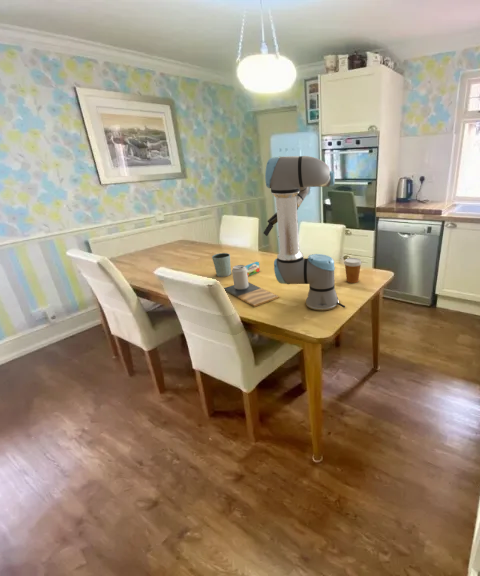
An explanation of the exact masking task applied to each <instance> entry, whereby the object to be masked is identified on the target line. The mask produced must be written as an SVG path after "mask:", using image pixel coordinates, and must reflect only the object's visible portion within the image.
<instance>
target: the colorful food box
mask: <svg viewBox="0 0 480 576" xmlns="http://www.w3.org/2000/svg"><path fill="white" fill-rule="evenodd" d="M244 266H245V268H247V276H248V277H250V276H252V275H255V274H257V273H260V272H261V269H260V268H261V267H260V261H255V262H252V263H248V264H247V265H244Z"/></svg>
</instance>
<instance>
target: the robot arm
mask: <svg viewBox="0 0 480 576" xmlns="http://www.w3.org/2000/svg"><path fill="white" fill-rule="evenodd" d="M264 176H265V177H264V181H265V185H266V188H267V189H270V193H271V194H272V195H273V196H274V197H275V206H276V207H275V208H276V212H274V214H273V215H272V216H271V217H270V218H269V219H268V220H267V223H268V224H267V226H266V227H265V229H264V230H263V232H262V233H263V235H265V236H266V237H268V235H269V234H270V233H271V231H272V229H273V228H274V226H275V225H276V224H277V231H278V241H279V253H278V254H277V256H276V258H275V259H274V261H273V270H274V277H275V279H276V281H277V282H278V283H279V284H282V285H308V286H309V288H308V289H309V290H308V293H307V297H306V300H305V304H306V307H307V308H308V309H310V310H313V311H318V312H326V311H332V310H334V309H336V308H337V307H338V306H340V307H341V308H344V309H345V308H346V305H344V304H342V303H340V302H339V301H340V300H339V297H338V295H337V294H338V293H337V292H336V289H335V285H336V284H335V281H336V280H335V269H336V267H335V260H334V259H333V258H332V257H331V256H329V255H327V254H323V253H314V254H309V255H308V256H307V258H306V257H305V258H304V253H303V252H301V250H300V236H299V235H300V234H299V218H298V210H299V208H300V206H301V205H302V203H303V202H304V200H305V198H306V197H307V196H308V194H309V193H310V191H311V189H312V188H316V187H317V188H318V187H320V188H322V187H323V188H329V187H334V186H335V180H336V179H335V171H333V170H330V168H329V166H328V164H327V163H326V162H325V161H323V160H321V159H320V158H317V157H314V156H310V155H295V156H291V155H290V156H289V155H288V156H287V155H286V156H280V155H279V156H273V157H270V158H268V160H267V162H266V165H265V175H264Z"/></svg>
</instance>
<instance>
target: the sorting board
mask: <svg viewBox="0 0 480 576" xmlns="http://www.w3.org/2000/svg"><path fill="white" fill-rule="evenodd" d="M248 284H249V286H248V287H247V288H246V289H244V290H237V289H235V288H234V284H233V285H229V286H225V287H223V288H224V289H225V291H224V292H226V293H227V294H230V295H231V296H234V297H235V298H237V299H239V300H241V301H243V302H245V303H247V304H248V305H250V306H252V307H254V308H256V307H258V306H261V305H264V304H266V303H269V302H272V301H274V300H276V299H279V295H277V294H275V293H273V292H270V291H268V290H266V289H264V288H262V287H259V286H258V285H255V284H253V283H251V282H249V281H248Z"/></svg>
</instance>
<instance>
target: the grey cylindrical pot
mask: <svg viewBox="0 0 480 576" xmlns="http://www.w3.org/2000/svg"><path fill="white" fill-rule="evenodd" d="M211 259H212V263H213V265H214V270H215V273H216V276H217V277H218V278H225V277H229V276H231V275H232V268H231V267H232V265H231V254H230V253H227V252H220V253H215V254H213V255H212V256H211Z"/></svg>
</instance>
